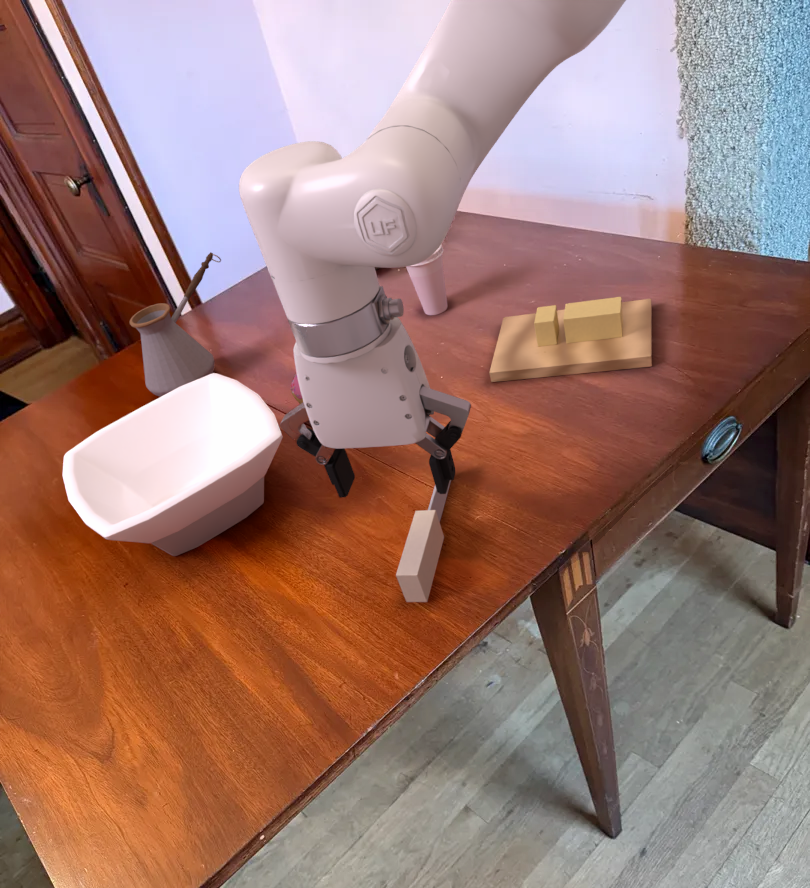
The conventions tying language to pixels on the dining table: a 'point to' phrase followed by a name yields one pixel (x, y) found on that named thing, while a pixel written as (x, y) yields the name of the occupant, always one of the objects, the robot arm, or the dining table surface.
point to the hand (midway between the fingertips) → (395, 485)
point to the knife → (422, 551)
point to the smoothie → (430, 283)
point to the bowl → (176, 466)
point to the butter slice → (546, 325)
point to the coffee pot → (171, 344)
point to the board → (572, 347)
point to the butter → (593, 320)
